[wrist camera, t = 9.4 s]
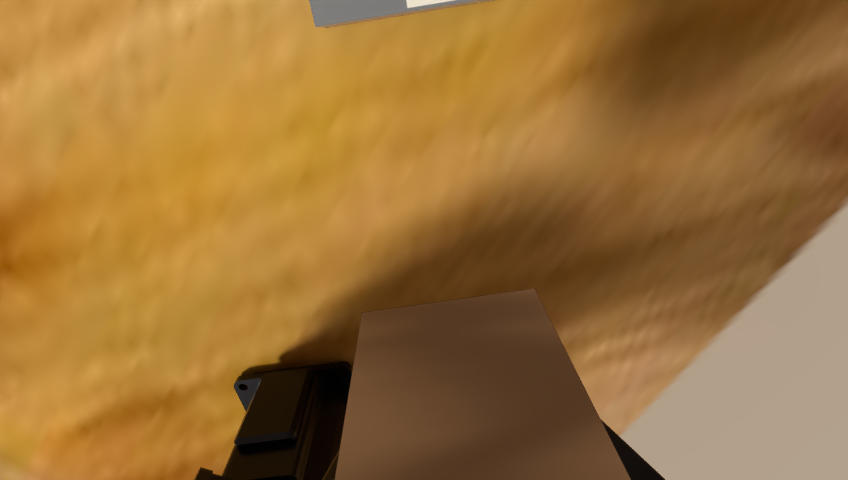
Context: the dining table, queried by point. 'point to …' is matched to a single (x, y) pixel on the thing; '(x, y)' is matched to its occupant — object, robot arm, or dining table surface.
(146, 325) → the dining table surface
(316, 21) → the grey stepped square base
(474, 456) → the beige rectangular prism
